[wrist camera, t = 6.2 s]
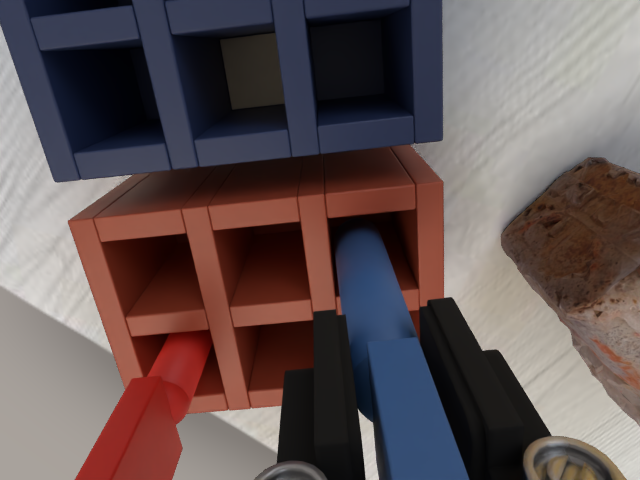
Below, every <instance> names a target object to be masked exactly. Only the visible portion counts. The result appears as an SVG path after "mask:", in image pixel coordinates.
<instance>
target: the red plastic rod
mask: <svg viewBox="0 0 640 480" xmlns="http://www.w3.org/2000/svg"><path fill="white" fill-rule="evenodd" d="M212 343H213V340H212V336H211V332H210V328H209V329H208V330H198V331H187V332H177V333H170V334H169V335H168V337H167V339H166V341H165V343H164V345H163V347H162V349H161V351H160V353H159V355H158V357H157V359H156V361H155V362H154V364H153V366H152V368H151V370H150V372H149V374H148V376H147V377H140V378H133V379H131V381H130V382H129V384H128V386H127V388H126V390H125V391H124V393H123V395H122V397H121V398H120V400H119V402H118V404H117V406H116V407H115V409H114V411H113V413H112V414H111V416H110V418H109V420H108V422H107V423H106V425H105V427H104V429H103V430H102V432H101V435H100V436H99V438H98V439H97V441H96V443H95V445H94V446H93V448H92V450H91V452H90V454H89V456H88V457H87V459H86V461H85V463H84V464H83V466H82V468H81V470H80V472H79V473H78V475H77V477H76V479H75V480H172V478H173V475H174V472H175V469H176V466H177V464H178V461H179V458H180V455H181V452H182V444H181V441H180V438H179V434H178V431H177V428H176V424H178V423H179V422H180V421H181V420H182V419H183V418H184V417H185V415H186V414H187V412H188V410H189V407H190V405H191V402H192V399H193V396H194V393H195V391H196V388H197V385H198V382H199V379H200V377H201V374H202V371H203V368H204V365H205V363H206V360H207V357H208V354H209V351H210V349H211V346H212Z"/></svg>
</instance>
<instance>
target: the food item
mask: <svg viewBox="0 0 640 480" xmlns="http://www.w3.org/2000/svg"><path fill="white" fill-rule="evenodd" d="M592 159H593V160H592ZM501 246H502V248H503V250H504V251H505V253H506V254H507V256H509V257H510V258H511V259H512V260H513V261H514V262H515V264H516V265H517V269H518V270H519V271H520V273H521V274H522V275H523V277H524V278H525V280H526V281H527V282H528V283H529V285H530V286H531V287H532V288H533V289H534V290H535V291H536V292H537V293H538V294H539V295H540V296H541V297H542V298H543V299H544V300H545V301H546V303H547V304H548V306H550V307H551V308H552V309H553V310H554V311H555V312H556V313H557V315H558V317H559V319H560V321H561V322H563V323H564V324H565V325H566V326H567V327H568V328H569V329H570V332H571V335H572V342H573V346H574V347H575V349H576V350H577V351H578V352H579V354H580V355H581V357H582V358H583V360H584V361H585V363H586V364H587V366H588V367H589V369H590V371H591V373H592V375H593V376H594V377H596V378H597V379H598V380H599V381H600V382H601V383H602V384H603V386H604V388H605V390H606V392H607V394H608V395H609V396H610V397H611V398H612V399H613V400H614V401H615V402H616V403H617V404H618V405H619V407H620V408H621V409H622V410H623V411H624V412H625V413H626V414H627V415H628V416H629V417H631V418H632V419H634V420H635V421H636V422H637V424H638V425H639V426H640V174H639V173H636V172H633V171H631V170H628V169H626V168H624V167H620V166H617V165H615V164H612V163H609V162H608V161H607V160H606V159H605V158H591V157H588V158H587V159H586V160H584V161H583V162H581V163H579V164H578V165H577V166H576V167H574V168H573V169H572V170H571V171H569V172H565V173H564V174H562V175H561V176H560V177H559V178H558V179H557V180H556V181H555V182H554V183H553V184H552V185H551V186H550V187H549V188H548V190H547V191H546V192H545V193H544V194H543V195H541V196H540V197H539V198H538V199H537V200H536V201H535V202H534V203H532V204H531V205H530V206H529V207H528V208H527V209H526V210H525V211H524V212H522V213H521V214H520V215H519V216H518V217H517V218H516V219H515V220H514V221H513V222H512V223H511V224H510V225H509V226H508V227H507V228H506V229H505V231H504V232H503V233H502V235H501Z"/></svg>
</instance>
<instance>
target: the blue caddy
mask: <svg viewBox="0 0 640 480" xmlns="http://www.w3.org/2000/svg"><path fill="white" fill-rule="evenodd" d="M0 25H1V27H2V30H3V33H4V36H5V39H6V42H7V45H8V48H9V51H10V54H11V57H12V60H13V62H14V65H15V68H16V71H17V74H18V77H19V80H20V83H21V86H22V89H23V92H24V95H25V97H26V100H27V103H28V106H29V109H30V112H31V115H32V118H33V121H34V124H35V127H36V130H37V132H38V135H39V138H40V141H41V144H42V147H43V150H44V153H45V156H46V159H47V162H48V165H49V167H50V170H51V173H52V176H53V179H54V181H55V182H67V181H76V180H80V179H82V180H87V179H96V178H105V177H114V176H123V175H133V174H142V173H151V172H160V171H170V170H171V169H174V170H177V169H186V168H196V167H198V166H200V167H207V166H216V165H225V164H234V163H244V162H253V161H262V160H271V159H281V158H290V157H291V156H292V157H299V156H308V155H318V154H319V153H321V154H327V153H336V152H345V151H354V150H363V149H373V148H382V147H391V146H400V145H410V144H414V143H416V144H418V143H427V142H437V141H442V140H443V44H442V0H0Z"/></svg>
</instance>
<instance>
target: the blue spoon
mask: <svg viewBox="0 0 640 480" xmlns="http://www.w3.org/2000/svg"><path fill="white" fill-rule="evenodd" d="M334 250H335V259H336V267H337V276H338V285H339V294H340V303H341V312H342V315H344V314H346V321H347V329H348V337H349V345H350V353H351V360H352V368H353V376H354V384H355V392H356V400H357V407H358V409H359V411H360V412H361V413H362V414H363V415H364V416H365V417H366V418H367V419H369V420H370V421H371V422H373V426H374V438H375V450H376V462H377V469H378V475H379V480H469V477H468V474H467V471H466V469H465V466H464V463H463V460H462V458H461V455H460V452H459V449H458V447H457V444H456V441H455V439H454V436H453V433H452V430H451V428H450V425H449V422H448V419H447V417H446V414H445V411H444V408H443V406H442V403H441V400H440V397H439V395H438V392H437V389H436V386H435V384H434V381H433V378H432V376H431V373H430V370H429V366H428V364H427V361H426V358H425V355H424V353H423V350H422V347H421V345H420V341H419V338H418V335H417V333H416V330H415V327H414V324H413V322H412V319H411V316H410V314H409V311H408V308H407V305H406V303H405V300H404V297H403V294H402V292H401V289H400V286H399V284H398V281H397V278H396V275H395V273H394V270H393V267H392V265H391V262H390V259H389V256H388V254H387V251H386V248H385V246H384V243H383V240H382V237H381V235H380V232H379V230H378V229H377V227H376V226H375V225H374V224H373V223H372V222H370V221H368V220H366V219H362V218H353V219H349V220H347V221H345V222H344V223H342V224H341V225H340V226H339V228H338V229H337V231H336V233H335V236H334Z"/></svg>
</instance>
